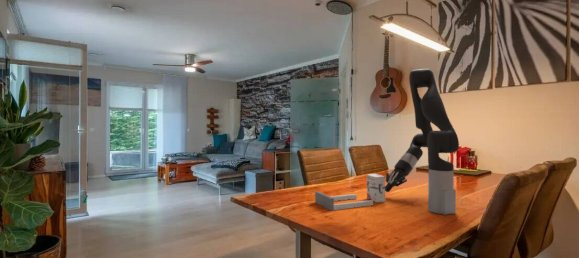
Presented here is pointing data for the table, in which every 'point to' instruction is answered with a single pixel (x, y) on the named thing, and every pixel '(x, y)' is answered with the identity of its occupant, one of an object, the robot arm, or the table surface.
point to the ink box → (376, 187)
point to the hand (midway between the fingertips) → (386, 190)
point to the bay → (329, 201)
